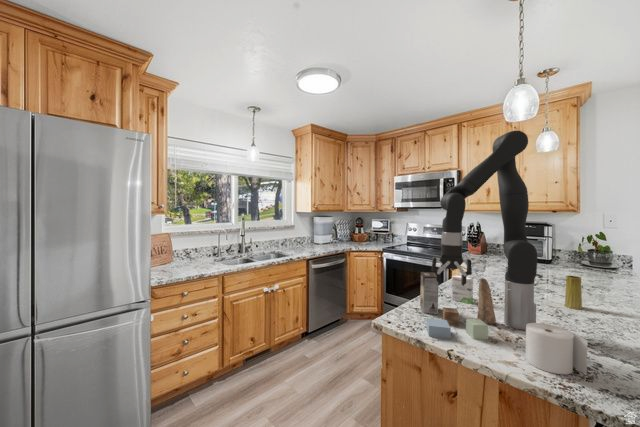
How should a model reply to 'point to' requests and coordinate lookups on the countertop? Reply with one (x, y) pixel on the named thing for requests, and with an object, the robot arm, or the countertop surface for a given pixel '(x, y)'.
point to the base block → (438, 328)
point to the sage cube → (476, 329)
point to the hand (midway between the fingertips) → (450, 284)
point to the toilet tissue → (555, 349)
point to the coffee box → (429, 293)
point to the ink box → (462, 289)
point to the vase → (573, 292)
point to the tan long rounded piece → (485, 303)
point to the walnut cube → (451, 316)
